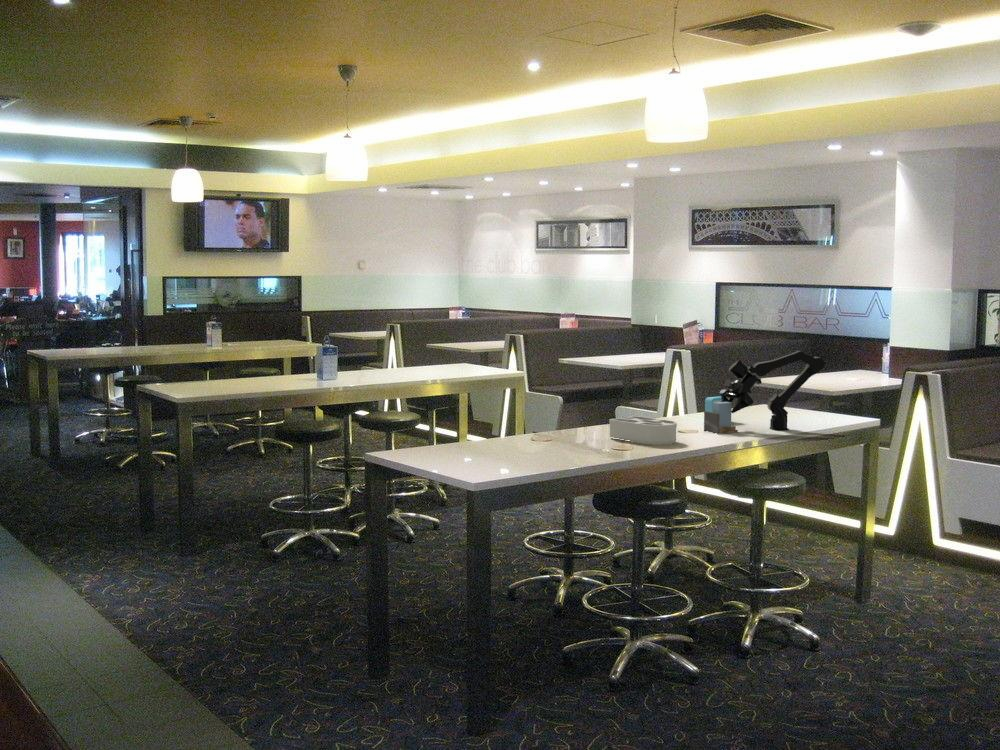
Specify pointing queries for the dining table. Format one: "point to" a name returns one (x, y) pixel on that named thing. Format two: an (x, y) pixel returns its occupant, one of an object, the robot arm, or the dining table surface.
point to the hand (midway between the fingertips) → (725, 411)
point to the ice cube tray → (644, 430)
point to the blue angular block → (723, 413)
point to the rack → (715, 424)
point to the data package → (711, 402)
